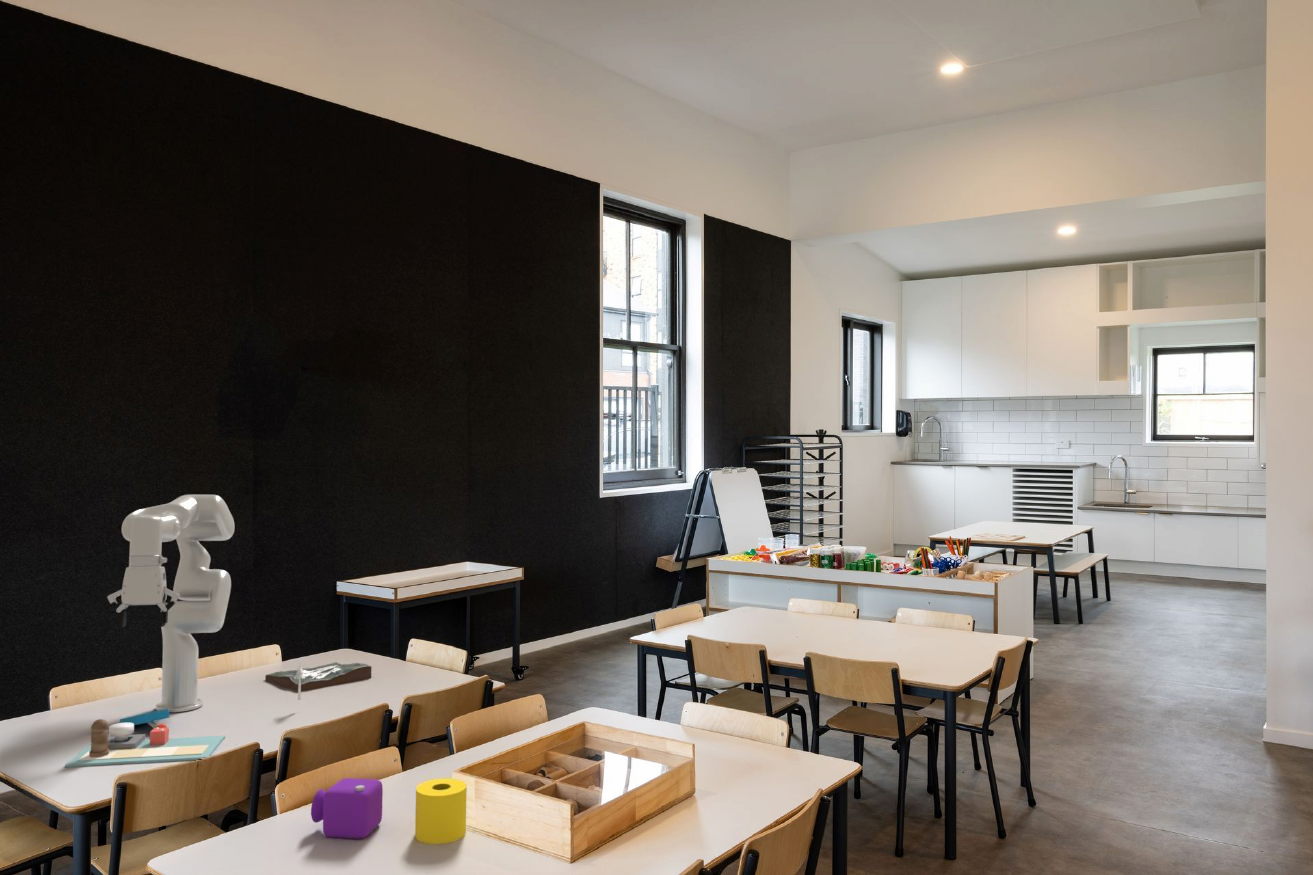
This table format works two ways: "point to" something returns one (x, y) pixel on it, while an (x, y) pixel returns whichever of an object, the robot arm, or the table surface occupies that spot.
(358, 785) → the toy camera
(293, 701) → the table surface
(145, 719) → the lever
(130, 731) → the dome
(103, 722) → the pawn
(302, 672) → the relief map
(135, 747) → the board
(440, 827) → the yellow toilet paper roll
